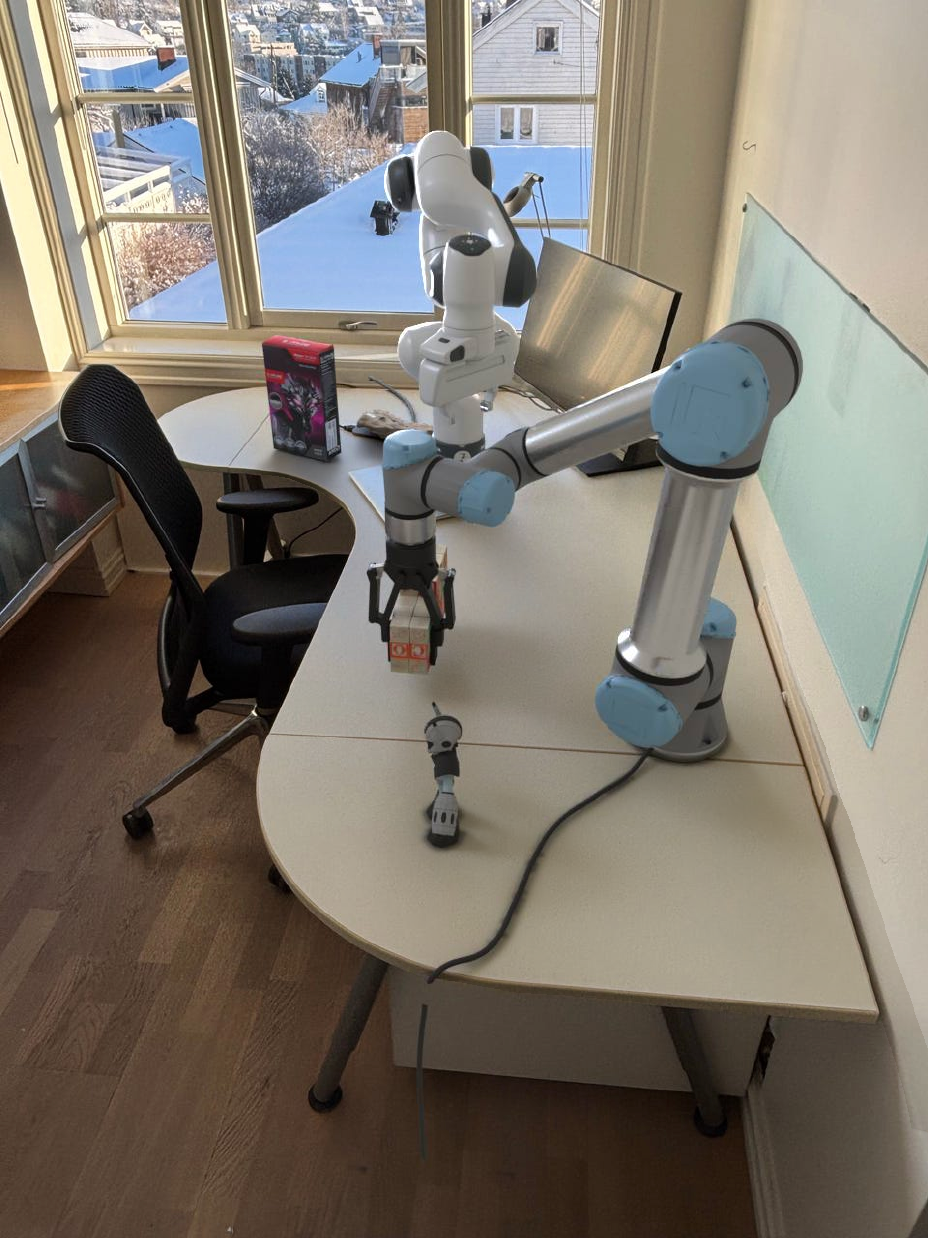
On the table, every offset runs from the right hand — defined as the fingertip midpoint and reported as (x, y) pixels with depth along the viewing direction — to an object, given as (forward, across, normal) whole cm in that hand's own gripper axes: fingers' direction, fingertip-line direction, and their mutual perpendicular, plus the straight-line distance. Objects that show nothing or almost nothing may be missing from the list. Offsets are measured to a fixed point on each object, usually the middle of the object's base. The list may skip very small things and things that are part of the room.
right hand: (413, 658), depth 150 cm
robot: (+5, -9, +31) cm, 33 cm away
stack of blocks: (+1, 0, -7) cm, 7 cm away
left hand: (-27, -4, -36) cm, 46 cm away
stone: (+6, +22, -100) cm, 103 cm away
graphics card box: (+6, +42, -89) cm, 98 cm away
